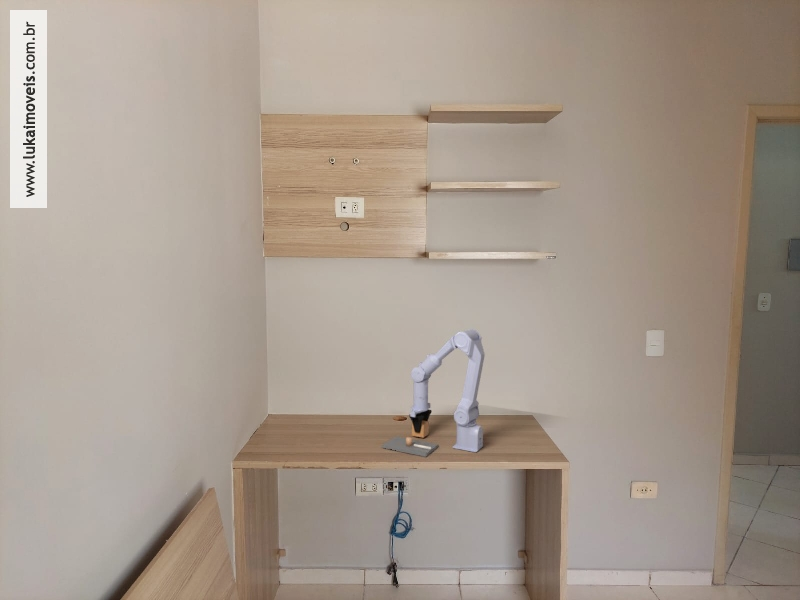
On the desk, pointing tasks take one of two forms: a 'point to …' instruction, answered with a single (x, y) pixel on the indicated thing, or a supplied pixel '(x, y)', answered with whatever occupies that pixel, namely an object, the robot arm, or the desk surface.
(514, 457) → the desk surface
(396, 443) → the plate
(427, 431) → the orange cube
